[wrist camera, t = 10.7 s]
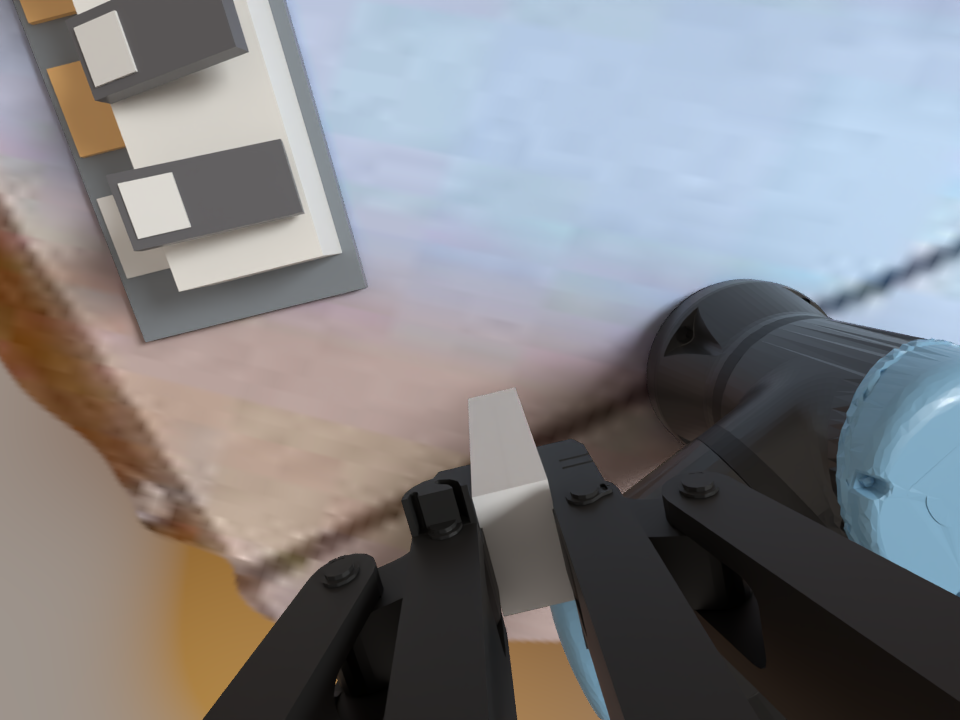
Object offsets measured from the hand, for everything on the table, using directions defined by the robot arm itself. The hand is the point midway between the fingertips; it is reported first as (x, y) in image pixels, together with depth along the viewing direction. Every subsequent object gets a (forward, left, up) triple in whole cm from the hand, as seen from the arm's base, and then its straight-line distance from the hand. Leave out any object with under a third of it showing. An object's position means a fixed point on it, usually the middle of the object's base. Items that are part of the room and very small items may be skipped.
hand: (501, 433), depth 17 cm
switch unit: (+17, -21, -28) cm, 39 cm away
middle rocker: (+14, -21, -19) cm, 32 cm away
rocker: (+14, -12, -19) cm, 27 cm away
